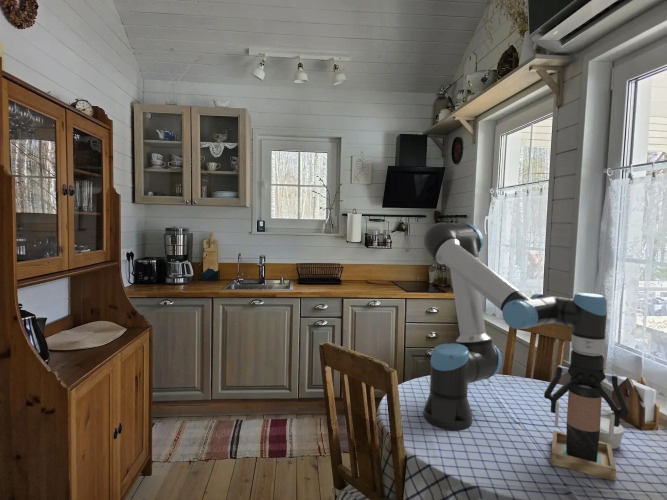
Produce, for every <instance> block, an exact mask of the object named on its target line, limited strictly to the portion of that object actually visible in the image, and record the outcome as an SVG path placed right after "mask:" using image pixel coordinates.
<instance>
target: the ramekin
mask: <svg viewBox="0 0 667 500" xmlns="http://www.w3.org/2000/svg"><path fill="white" fill-rule="evenodd" d="M609 424H610V418H607V417H602V416H601V420H600V435H599V441H601V442H605V443H609V444H611V447H612V450H615V449H617V448H619V447H620V445H621V444H622V440H623V436H624V434H625V429H624V427H623V426H622V424H619V427H616V426H614V436H613V440H611V439H610V438H609Z"/></svg>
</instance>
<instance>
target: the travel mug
mask: <svg viewBox="0 0 667 500" xmlns="http://www.w3.org/2000/svg"><path fill="white" fill-rule="evenodd" d="M569 382H570V381H569ZM602 398H603V397H602V395H601V388H599V389H596V387H594V388H591V387H590V386H585V385H577V384H576V385H574V384H572V383H571V385H570V389H569V390H568V393H567V413H566V433H567V436H566V452H567V454H568V455H569V456H573V457H577V458H581V459H584V460H588V461H592V462H596V461H597V456H598V445H599V435H600V420H601V417H602V416H601V415H602Z"/></svg>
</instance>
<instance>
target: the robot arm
mask: <svg viewBox="0 0 667 500" xmlns="http://www.w3.org/2000/svg"><path fill="white" fill-rule="evenodd" d="M483 245H484V238H483V234H482V232H481V231H480V229H479V228H478V227H476V226H475V225H474V224H470V223H466V222H443V221H442V222H437V223H434V224H432V225H431V226H429V227H428V228H427V230H426V231H425V232H424V236H423V246H424V249H425V251H426V253H427V254H428V255H429V256H430V258H432V259H433V260H434V261H435V262H436V263H438V264H440V265H445V266H446V267H447V268H449V270H450V276H451V277H450V278H451V283H452V290H453V297H454V303H455V309H456V310H455V311H456V317H457V325H458V330H459V336H458V337H457V338H456V341H455V342H451V343H441V344H438V345H436V346H434V348H433V349H432V350H431V356H430V357H431V358H430V375H429V377H430V378H429V379H430V380H429V382H430V383H429V386H430V387H429V394H428V397H427V400H426V402H425V404H424V407H423V418H424V419H425V421H426V422H428V423H429V424H430V425H432V426H435V427H438V428H440V429H445V430H454V431H455V430H464V429H468V428H469V427H470V426H471V425H472V424H473V412H472V408H471V406H470V402H469V399H468V388H469V387H468V386H469V385H468V384H472V383H475V382H479V381H482V380H487V379H490V378H491V377H493V376H495V375H497V374H498V373H499V371H500V370H501V367H502V363H503V357H502V354H501V351H500V349H499V348H497V345H496V344H494V343H493V340H492V339H493V338H492V337H491V336H490V335H489V334H488V333H487V331H486V324H485V319H484V318H485V317H484V312H483V305H482V298H481V296H483V297H484V298H485V299H487V301H489V302H490V303H492V304H493V305H494V306H495V307H496V308H497V309H499V311H501V314H502V318H503V321H504V323H506V324H507V326H508V327H510V328H512V329H516V330H521V329H522V330H524V329H527V330H528V329H531V328H533V327H538V326H543V325H544V326H545V325H548V324H557V325H562V326H567V327H571V345H570V348H571V349H572V350H571V351H570V363H569V366H568V367H566V366H563V365H562V364H557V366H556V373H554V375H553V378H552V379H551V381H550V383H549V384H548V386H547V388H546V389H545V391H544V393H543V397H544V399H548V400H549V401H550V412H551V414H554V427H555V428H558V427H559V412H560V400H559V399H561V398H562V397H563V396H564V395H565V394H566V393H567V392H569V389H570V385H571V383H572V384H574V385H576V384H577V385H585V386H590V387H591V388H594V387H596V389H599V388H601V395H602V398H603V399H604V401H605V402H606V403H607V405H608V406H609V408H610V410H609V420H610V424H609V438H610V439H611V440H613V436H614V426H616V427H619V425H620V421H621V420H620V419H621V416H622V415H629V414H630V411H629V408H628V405H627V404H626V401H625V398H624V396H623V394H622V392H621V389H620V387H619V384H618V383H619V378H618V375H617V374H616V373H605V372H604V366H605V365H604V362H605V355H604V354H605V348H606V344H605V343H606V329H607V327H606V326H607V316H608V311H607V310H608V304H607V302H608V301H607V298H606V297H605V296H604V295H602V294H598V293H592V292H591V293H589V292H577V293H575V294H574V295H573V298H566V297H563V296H562V297H560V296H555V295H550V294H546V293H545V294H541V293H534V294H533V295H532V296H531V297H529V296H528V295H526V294H525V293H523V292H522V291H520V290H519V289H518V288H517V287H516V286H514V285H513V284H511V283H510V282H508V280H506V279H504V278H503V277H502V276H501V275H499V274H498V273H496V272H495V271H494V270H493V269H491V268H490V267H489V266H487V265H486V264H485V263H483V262H482V261H480V255H479V253H480V252H481V251H482V248H483ZM566 373H568V374H569V376H570V378H569V379H568V380H567V381H566V382H565V383H564V384H563V385H561V387H560V388H558V389H557V390H556V391H555V392H554V393H553V391H554V390H555V388H556V386H557V385H558V383H559V381H560V379H561V377H562V376H565V374H566ZM605 379H606V380H607V381H608V383H609V384H611V385H612V388H613V391H614V394H615V396H616V398H617V400H618V403H619V405H620V407H618V405H617V404H616V403H615V401H614V400H613V398H612V397H611V396H610V394H609V393H608V391H606V390H607V389H605V387H604V386H603V384H602V382H603V381H604V380H605ZM569 381H570V382H569ZM552 393H553V394H552Z"/></svg>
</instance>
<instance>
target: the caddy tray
mask: <svg viewBox="0 0 667 500" xmlns="http://www.w3.org/2000/svg"><path fill="white" fill-rule="evenodd" d="M566 436H567V432H566V433H565V432H562V431H557V430H554V429H553V430H552V441H551V442H552V443H551V460H550V461H551V462H550V464H551V465H554V466H557V467H562V468H565V469H568V470H573V471H575V472H580V473H583V474H587V475H590V476H595V477H598V478H602V479H605V480H609V481H613V482H616V480H617V479H616V475H617V474H616V473H617V468H616V463H615V458H614V454H613V449H612V447H611V444H609V443H605V442H601V441H599V445H598V456H597V461H596V462H592V461H588V460H584V459H581V458H577V457H573V456H569V455H568V454H567V452H566Z"/></svg>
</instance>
